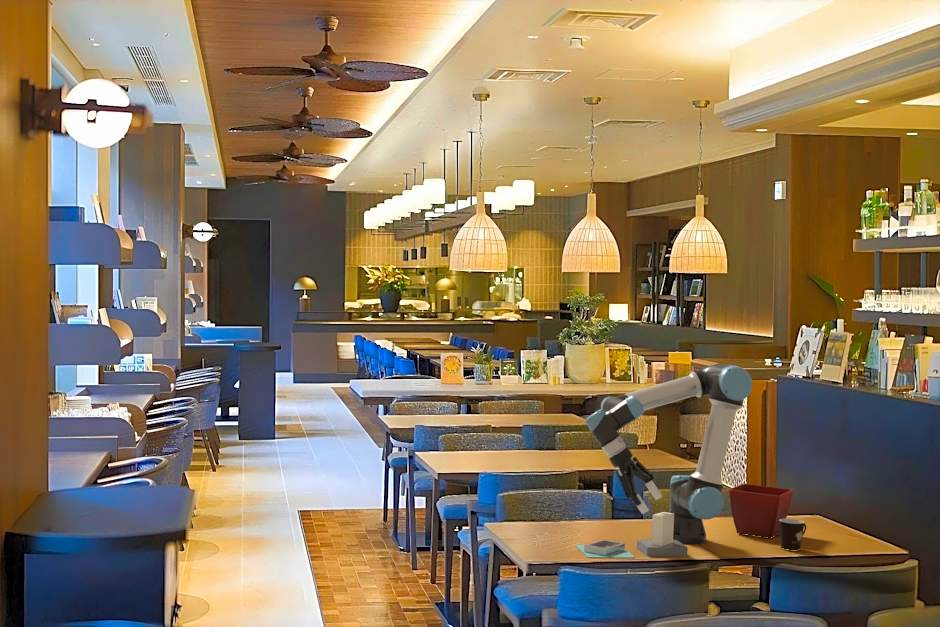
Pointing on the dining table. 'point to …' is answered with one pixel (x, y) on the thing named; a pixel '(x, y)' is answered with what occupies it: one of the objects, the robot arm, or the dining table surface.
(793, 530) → the coffee mug
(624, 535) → the dining table surface
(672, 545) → the plate
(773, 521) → the plant pot
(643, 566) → the dining table surface
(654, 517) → the block
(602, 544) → the holder
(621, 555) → the mat
